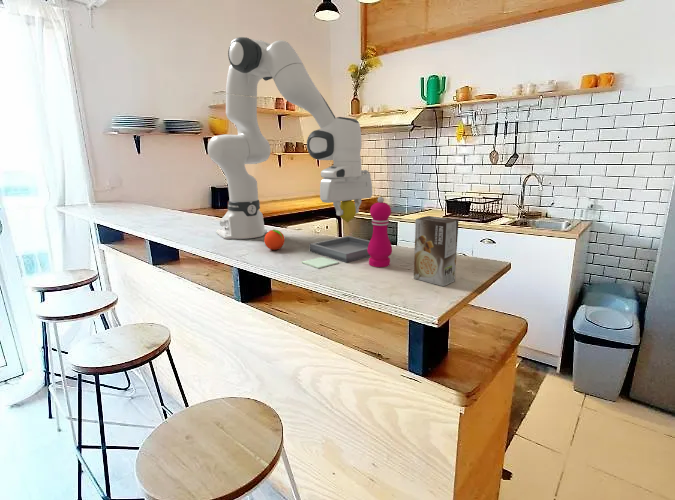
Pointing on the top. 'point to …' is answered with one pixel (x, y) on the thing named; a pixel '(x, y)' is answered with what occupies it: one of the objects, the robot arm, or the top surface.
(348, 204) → the lemon
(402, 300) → the top surface
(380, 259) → the pepper mill
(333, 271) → the top surface
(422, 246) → the coffee box
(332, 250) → the slate tray
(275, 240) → the clementine
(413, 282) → the top surface
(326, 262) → the green mat
